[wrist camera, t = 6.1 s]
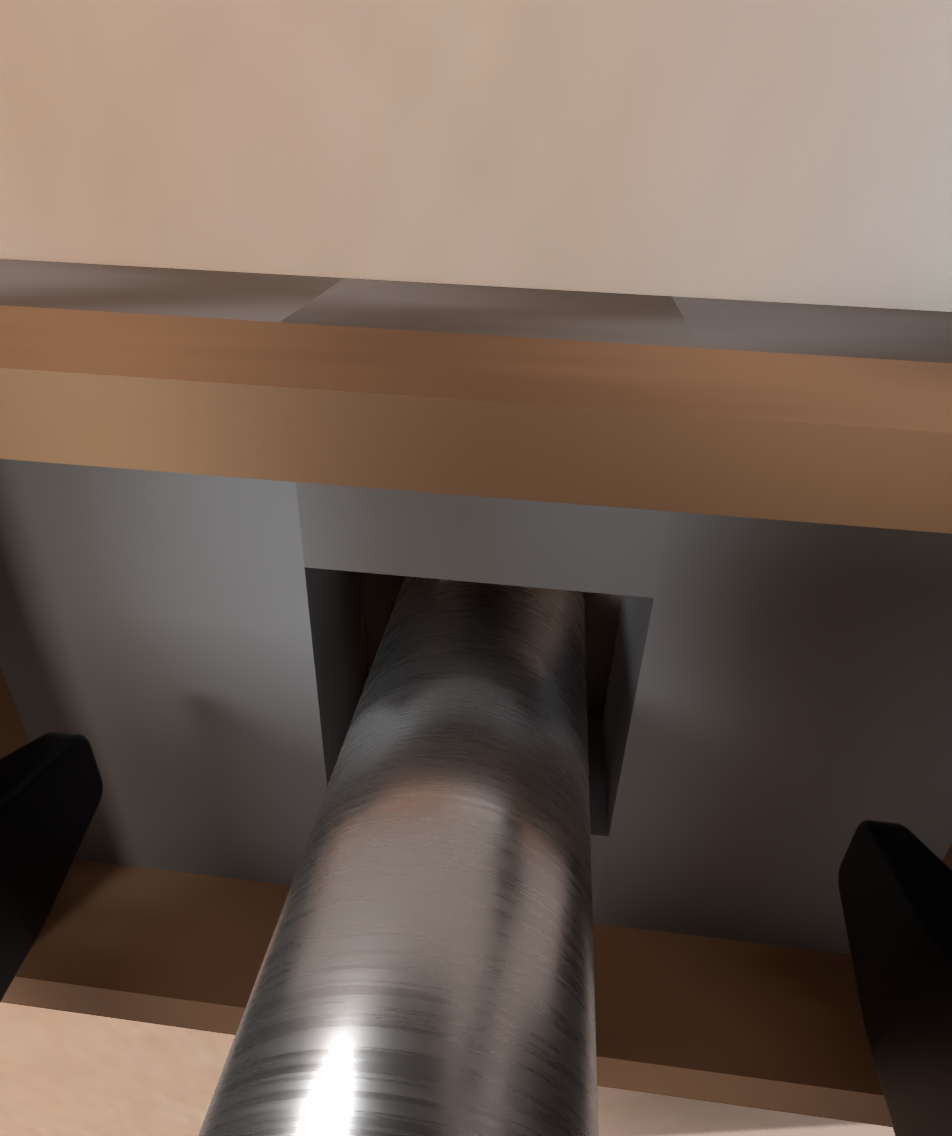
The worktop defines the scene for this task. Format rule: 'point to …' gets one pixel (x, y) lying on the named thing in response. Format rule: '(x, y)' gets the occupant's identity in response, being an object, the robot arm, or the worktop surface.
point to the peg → (439, 894)
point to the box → (496, 556)
